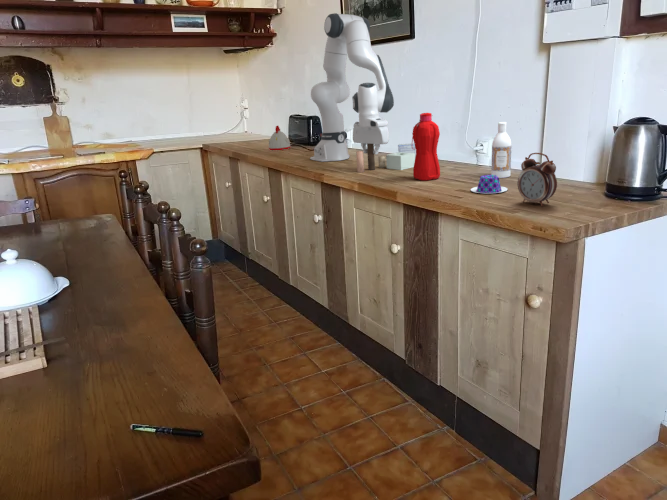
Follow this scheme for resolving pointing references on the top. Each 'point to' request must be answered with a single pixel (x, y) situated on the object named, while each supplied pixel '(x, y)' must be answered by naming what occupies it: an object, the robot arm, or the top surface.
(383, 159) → the short pin
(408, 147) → the medicine box
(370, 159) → the long pin
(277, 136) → the kitchen timer
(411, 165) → the hole block
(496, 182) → the pudding
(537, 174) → the alarm clock
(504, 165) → the bath foam
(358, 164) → the medium pin
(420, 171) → the water bottle
